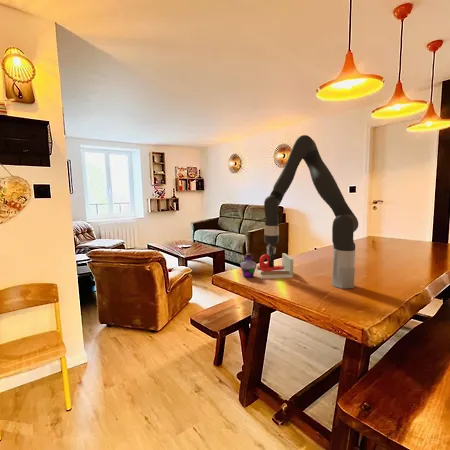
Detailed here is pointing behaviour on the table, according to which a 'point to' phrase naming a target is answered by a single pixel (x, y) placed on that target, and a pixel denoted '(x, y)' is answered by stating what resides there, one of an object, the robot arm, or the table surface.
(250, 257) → the potion bottle
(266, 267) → the bracket
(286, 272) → the cleat board
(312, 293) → the table surface
